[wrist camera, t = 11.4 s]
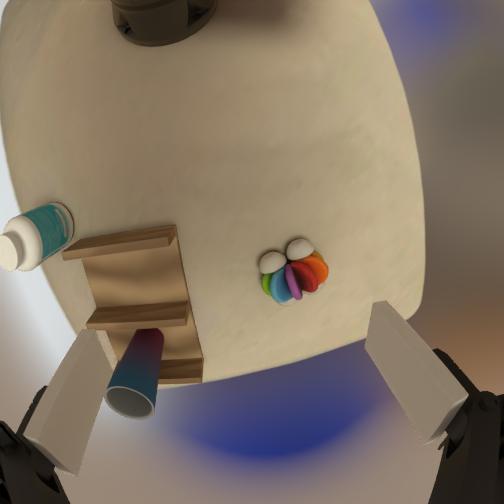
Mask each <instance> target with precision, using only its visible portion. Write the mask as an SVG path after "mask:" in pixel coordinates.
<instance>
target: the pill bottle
mask: <svg viewBox="0 0 504 504" xmlns="http://www.w3.org/2000/svg"><path fill="white" fill-rule="evenodd" d="M72 235H73V221H72V218H71V215H70V213H69V212H68V210H67V209H66V208H65V207H64V206H63V205H61V204H59V203H49V204H46V205H44V206H41V207H38V208H36V209H33V210H31V211H28V212H26V213H23V214H21V215H18V216H16V217H14V218H12V219H11V220H9V221H8V223H7V224H6V226H5V228H4V231H3V234H2V235H0V265H1V266H2V267H3V268H4V269H5V270H7V271H13V270H15V269H18V270H21V271H30V270H33V269H34V268H35V267H37V266H38V265H40V264H41V263H42V262H44V261H45V260H46V259H48V258H49V257H51V256H52V255H53V254H55V253H56V252H58V251H59V250H61V249H62V248H63V247H65V246H66V245H67V244H68V243H69V242H70V240H71V238H72Z"/></svg>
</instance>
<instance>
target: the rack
mask: <svg viewBox="0 0 504 504" xmlns="http://www.w3.org/2000/svg"><path fill="white" fill-rule="evenodd" d="M61 253H62V256H63V260H64V261H65V260H72V259H79V258H82V262H83V265H84V269H85V272H86V276H87V279H88V282H89V285H90V288H91V292H92V295H93V298H94V300H95V303H96V306H97V308H96V310H95V311H94V312H93V314H92V315H91V317H90V318H89V320H88V321H87V322H86V327H87V329H95V330H106V333H107V335H108V338H109V340H110V342H111V345H112V347H113V350H114V352H115V354H116V356H117V359H118V363H117V365H116V367H115V370H116V368H117V366H118V364H119V362H120V360H121V358H122V356H123V354H124V353H125V351H126V349H127V347H128V345H129V343H130V341H131V339H132V338H133V336H134V334H135V332H136V330H137V329H147V328H158V329H159V330H160V331H161V332H162V333H163V335H164V346H163V352H162V358H161V365H160V372H159V379H158V384H187V383H202V377H203V362H204V358H203V354H202V350H201V346H200V342H199V338H198V334H197V330H196V326H195V321H194V317H193V312H192V308H191V303H190V299H189V294H188V289H187V284H186V279H185V274H184V269H183V264H182V258H181V253H180V247H179V242H178V236H177V230H176V225H172V226H164V227H157V228H150V229H143V230H137V231H130V232H123V233H117V234H111V235H104V236H98V237H92V238H86V239H80V240H79V241H77V242H76V243H74V244H73V245H71V246H70V247H68V248H67V249H66V250H64V251H63V252H61ZM115 370H114V372H115ZM114 372H113V374H114ZM112 376H113V375H112ZM111 378H112V377H111Z"/></svg>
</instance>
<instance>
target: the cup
mask: <svg viewBox="0 0 504 504" xmlns="http://www.w3.org/2000/svg"><path fill="white" fill-rule="evenodd" d="M163 346H164V335H163V333H162V332H161V331H160V330H159V329H158V328H147V329H137V330H136V332H135V334H134V336H133V338H132V339H131V341H130V343H129V345H128V347H127V349H126V351H125V353H124V354H123V356H122V358H121V360H120V362H119V364H118V366H117V368H116V370H115V372H114V374H113V376H112V378H111V380H110V382H109V384H108V387H107V389H106V392H105V394H104V399H105V401H106V403H107V404H108V406H109V407H110V408H111V409H112V410H114V411H115V412H117V413H118V414H120V415H122V416H124V417H127V418H131V419H137V420H143V419H147V418H149V417H151V416H152V415H153V414H154V411H155V402H156V394H157V386H158V379H159V372H160V365H161V358H162V352H163Z"/></svg>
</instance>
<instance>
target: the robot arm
mask: <svg viewBox="0 0 504 504" xmlns="http://www.w3.org/2000/svg"><path fill="white" fill-rule="evenodd" d="M111 1H112V7H113V20H114V23H115V26H116V28H117V29H118V31H119V32H120V33H121V34H122V35H123V36H124V37H125V38H126V39H127V40H129V41H130V42H132V43H135V44H138V45H143V46H162V45H167V44H171V43H174V42H177V41H180V40H182V39H185V38H187V37H189V36H190V35H192V34H194V33H195V32H197V31H198V30H199V29H201V28H202V27H203V26H204V25H205V24H206V23H207V22H208V21H209V19H210V18H211V17H212V15H213V13H214V11H215V8H216V3H217V0H111ZM365 349H366V351H367V352H368V354H369V355H370V357H371V359H372V360H373V361H374V363H375V365H376V366H377V368H378V370H379V371H380V373H381V374H382V376H383V378H384V379H385V381H386V382H387V384H388V385H389V387H390V389H391V391H392V392H393V394H394V395H395V397H396V398H397V400H398V402H399V404H400V405H401V407H402V409H403V410H404V412H405V414H406V415H407V417H408V419H409V421H410V422H411V424H412V425H413V427H414V429H415V431H416V433H417V434H418V436H419V438H420V440H421V441H422V443H423V445H424V446H425V445H427V444H429V443H431V442H433V441H435V440H437V439H439V438H440V436H441V435H442V434H443V432H444V431H446V432H447V434H448V435H447V437H446V438H445V439H444V441H443V442H442V443H441V444H440V446H439V448H438V450H440V449H441V448H442V447H443V446H444V449H443V454H442V458H441V462H440V466H439V470H438V474H437V477H436V481H435V484H434V487H433V490H432V493H431V497H430V499H429V502H428V504H504V394H502V395H498V396H496V395H494V394H493V393H491V392H488V391H482V392H480V391H479V390H478V389H477V388H476V387H475V386H474V384H473V383H472V382H471V381H470V380H469V379H468V377H467V376H466V375H465V374H464V373H463V372H462V370H461V369H459V367H458V366H457V365H456V363H454V362H453V360H452V359H451V358H450V357H449V356H448V354H446V353H445V352H443V351H441V350H440V349H438V348H436V349H434V350H431V349H430V348H429V346H428V345H427V344H426V343H425V342H424V341H423V340H422V338H421V337H420V336H419V335H418V334H417V333H416V332H415V331H414V330H413V329H412V327H411V326H410V325H409V324H408V323H407V322H406V321H405V320H404V319H403V318H402V317H401V315H400V314H399V313H398V312H397V311H396V310H395V309H394V308H393V307H392V306H391V305H390V304H389V303H388V302H387V301H381V302H376V303H373V305H372V311H371V317H370V322H369V328H368V333H367V338H366V343H365ZM112 374H113V369H112V367H111V365H110V363H109V361H108V359H107V357H106V355H105V352H104V350H103V348H102V346H101V343H100V341H99V339H98V336H97V334H96V331H95V329H82V331H81V332H80V334H79V335H78V337H77V338H76V340H75V341H74V343H73V344H72V346H71V348H70V349H69V351H68V352H67V354H66V356H65V357H64V359H63V361H62V363H61V364H60V366H59V367H58V369H57V371H56V373H55V374H54V376H53V378H52V380H51V381H50V383H49V385H48V386H44V387H43V388H42V389H41V390H39V391H38V392H37V394H36V396H35V397H34V399H33V403H31V405H30V407H29V410H28V411H27V413H26V414H25V416H24V418H23V420H22V422H21V424H20V426H19V428H18V431H17V433H16V434H15V433H14V432H13V431H12V430H11V428H10V427H9V426H8V425H7V424H6V423H5V422H4V421H0V504H70V502H69V500H68V498H67V496H66V494H65V492H64V489H63V487H62V485H61V483H60V480H59V478H58V476H57V474H56V473H55V471H54V468H55V466H56V467H57V468H58V469H59V470H61V471H62V472H63V473H66V474H69V475H72V476H75V477H78V473H79V470H80V466H81V463H82V460H83V456H84V453H85V449H86V446H87V443H88V440H89V437H90V434H91V431H92V428H93V425H94V422H95V419H96V416H97V414H98V411H99V408H100V405H101V402H102V400H103V397H104V394H105V392H106V389H107V387H108V384H109V381H110V379H111V376H112Z"/></svg>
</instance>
